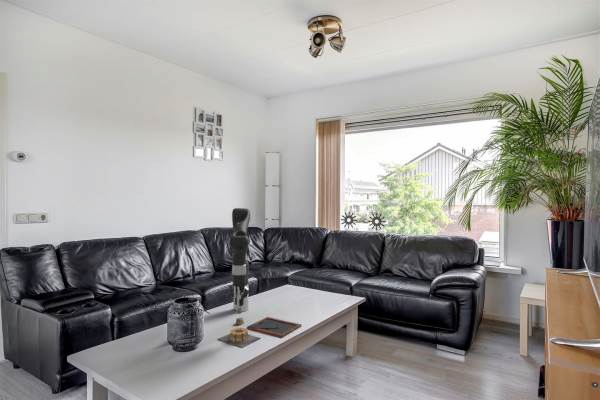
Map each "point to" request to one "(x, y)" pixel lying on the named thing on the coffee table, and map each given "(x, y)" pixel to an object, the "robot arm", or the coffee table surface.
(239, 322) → the bead
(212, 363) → the coffee table surface
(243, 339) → the cake on slate board
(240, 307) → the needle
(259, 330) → the picture frame
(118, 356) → the coffee table surface
